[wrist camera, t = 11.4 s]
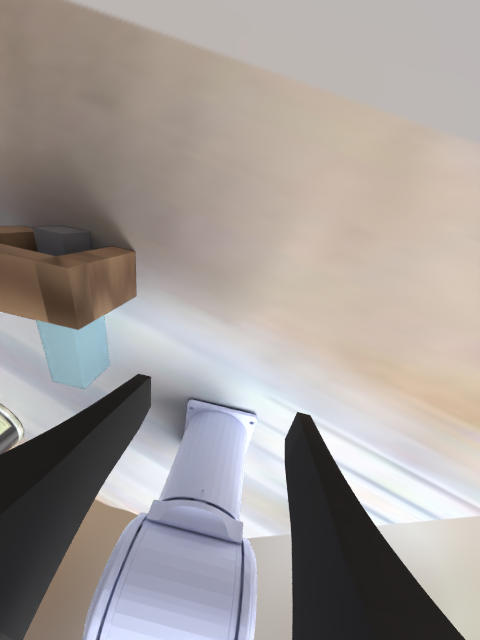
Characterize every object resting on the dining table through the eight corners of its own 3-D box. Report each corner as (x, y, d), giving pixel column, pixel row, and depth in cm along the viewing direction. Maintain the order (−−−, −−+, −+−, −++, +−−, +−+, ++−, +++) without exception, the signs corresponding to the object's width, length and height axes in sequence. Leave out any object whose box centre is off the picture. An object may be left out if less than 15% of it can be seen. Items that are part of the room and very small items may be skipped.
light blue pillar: (109, 365, 24) (84, 389, 20) (82, 359, 24) (52, 381, 20) (95, 233, 17) (55, 236, 14) (57, 224, 17) (10, 226, 14)
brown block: (136, 296, 19) (78, 330, 13) (32, 272, 20) (-69, 295, 14) (135, 251, 18) (67, 268, 12) (21, 225, 18) (-102, 229, 12)
